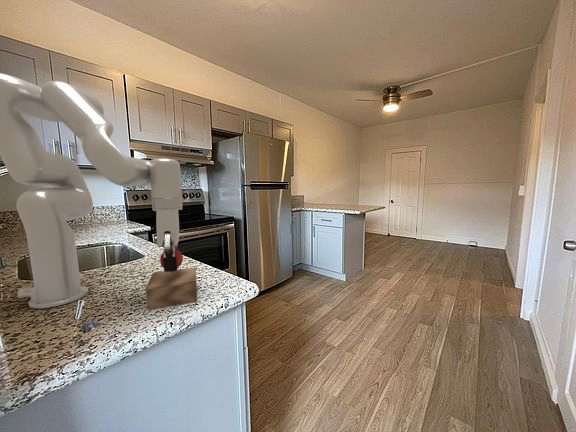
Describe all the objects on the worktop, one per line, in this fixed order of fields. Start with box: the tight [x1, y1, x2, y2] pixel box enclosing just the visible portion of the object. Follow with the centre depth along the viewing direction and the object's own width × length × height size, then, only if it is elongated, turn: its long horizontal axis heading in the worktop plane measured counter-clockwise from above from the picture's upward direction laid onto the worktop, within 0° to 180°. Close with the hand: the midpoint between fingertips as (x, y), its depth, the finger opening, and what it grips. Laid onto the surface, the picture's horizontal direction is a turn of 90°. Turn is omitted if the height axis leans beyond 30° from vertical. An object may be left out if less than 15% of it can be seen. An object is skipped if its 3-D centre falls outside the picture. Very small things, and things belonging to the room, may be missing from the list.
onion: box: [159, 244, 184, 272], centre depth 70 cm, size 6×6×8 cm
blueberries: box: [70, 318, 100, 334], centre depth 56 cm, size 7×8×2 cm
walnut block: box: [145, 266, 198, 311], centre depth 71 cm, size 12×12×6 cm
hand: (171, 266), depth 70 cm, fingers closed on onion, 5 cm apart
